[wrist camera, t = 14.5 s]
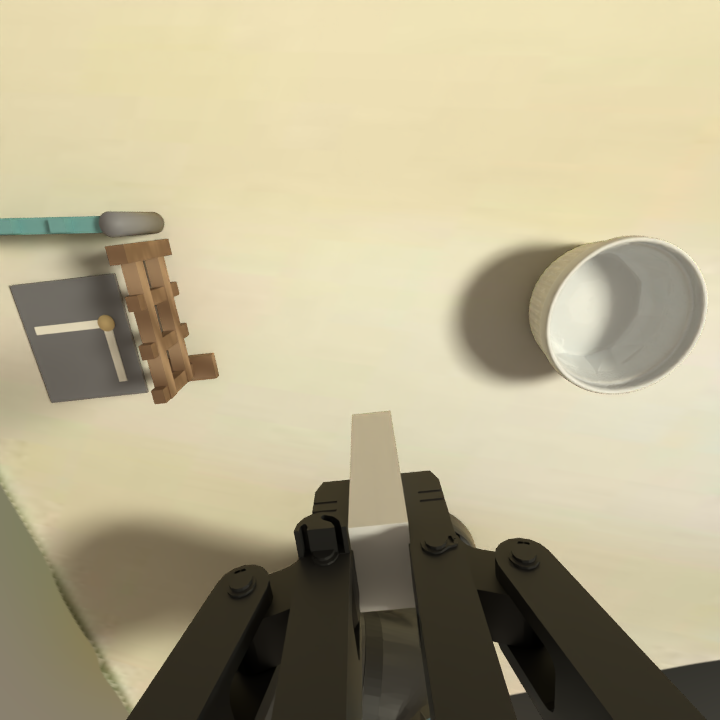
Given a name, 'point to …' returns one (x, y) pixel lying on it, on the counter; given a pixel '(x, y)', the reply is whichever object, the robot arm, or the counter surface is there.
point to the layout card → (81, 337)
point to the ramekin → (619, 312)
